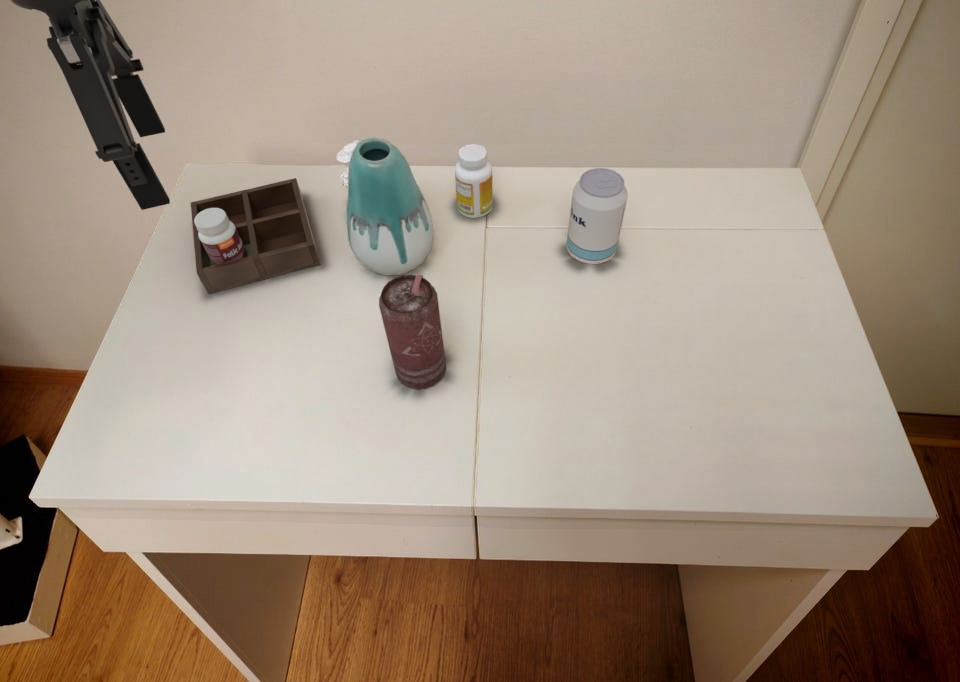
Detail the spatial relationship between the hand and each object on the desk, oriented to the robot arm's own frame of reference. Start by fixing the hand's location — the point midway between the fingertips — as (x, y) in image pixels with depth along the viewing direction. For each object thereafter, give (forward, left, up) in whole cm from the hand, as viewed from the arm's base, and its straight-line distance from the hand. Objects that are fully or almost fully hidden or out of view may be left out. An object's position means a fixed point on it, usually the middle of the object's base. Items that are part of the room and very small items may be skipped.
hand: (154, 167), depth 64 cm
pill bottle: (+2, +5, -20) cm, 21 cm away
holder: (+6, +9, -21) cm, 23 cm away
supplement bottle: (+38, +5, -21) cm, 43 cm away
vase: (+24, -1, -21) cm, 32 cm away
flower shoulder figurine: (+22, +11, -21) cm, 32 cm away
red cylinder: (+22, -21, -21) cm, 37 cm away
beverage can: (+50, -10, -21) cm, 55 cm away
